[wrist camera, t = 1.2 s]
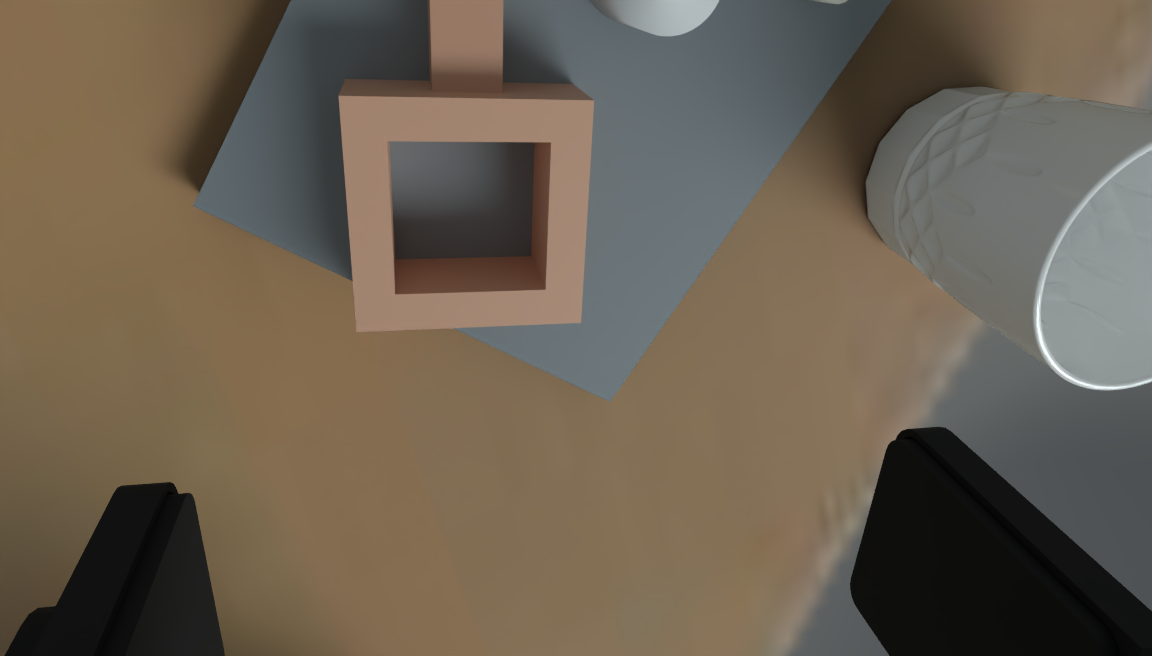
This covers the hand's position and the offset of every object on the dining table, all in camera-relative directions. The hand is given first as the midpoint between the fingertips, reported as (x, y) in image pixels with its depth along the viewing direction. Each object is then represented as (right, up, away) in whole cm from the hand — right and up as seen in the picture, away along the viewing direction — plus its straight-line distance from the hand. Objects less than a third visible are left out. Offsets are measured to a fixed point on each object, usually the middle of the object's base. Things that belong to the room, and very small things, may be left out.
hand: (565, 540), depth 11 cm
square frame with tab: (-3, +9, +14) cm, 17 cm away
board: (-1, +11, +15) cm, 19 cm away
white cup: (+14, +9, +20) cm, 26 cm away
